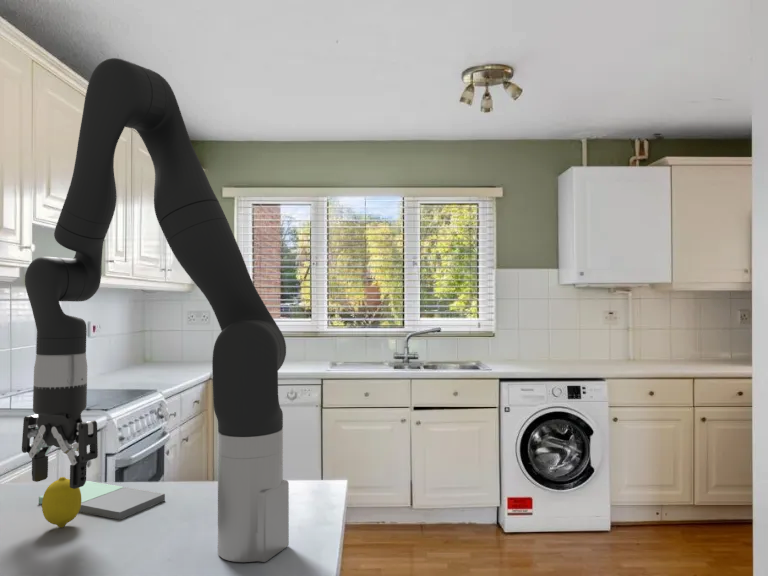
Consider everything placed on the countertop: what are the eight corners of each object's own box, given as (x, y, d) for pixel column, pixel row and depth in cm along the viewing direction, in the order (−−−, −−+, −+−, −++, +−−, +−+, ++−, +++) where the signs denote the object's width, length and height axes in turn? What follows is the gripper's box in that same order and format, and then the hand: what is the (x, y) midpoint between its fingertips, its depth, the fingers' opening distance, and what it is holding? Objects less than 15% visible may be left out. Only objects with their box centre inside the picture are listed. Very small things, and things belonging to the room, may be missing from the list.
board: (164, 500, 104) (164, 493, 105) (119, 519, 95) (119, 512, 95) (87, 487, 112) (87, 480, 112) (38, 503, 103) (38, 496, 103)
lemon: (64, 535, 89) (64, 483, 89) (33, 533, 90) (33, 481, 90) (89, 522, 94) (89, 473, 95) (59, 519, 95) (60, 471, 96)
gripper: (112, 381, 93) (110, 483, 93) (51, 376, 99) (48, 471, 98) (71, 388, 86) (68, 497, 86) (8, 381, 92) (5, 484, 91)
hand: (58, 483), depth 92 cm, fingers open, 8 cm apart
